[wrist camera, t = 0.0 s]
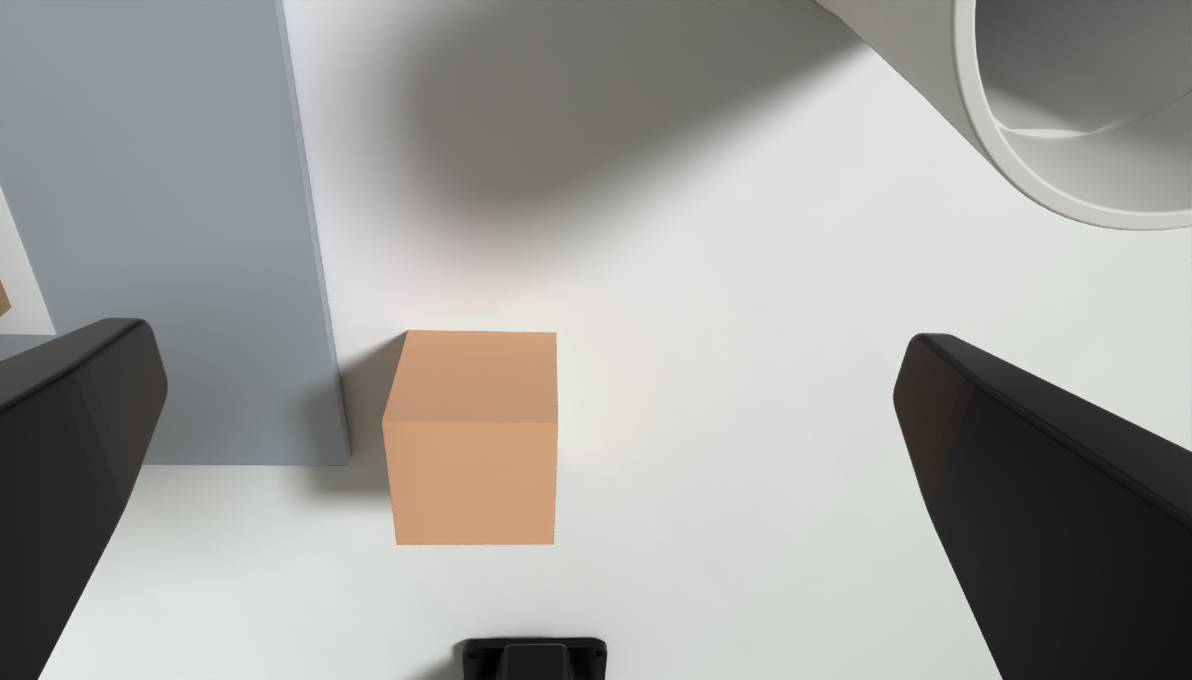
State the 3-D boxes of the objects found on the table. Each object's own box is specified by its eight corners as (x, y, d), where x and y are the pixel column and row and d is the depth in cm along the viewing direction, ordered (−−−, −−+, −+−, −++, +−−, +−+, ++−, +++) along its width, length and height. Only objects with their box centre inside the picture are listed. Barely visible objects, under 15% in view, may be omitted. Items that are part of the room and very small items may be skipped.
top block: (552, 443, 29) (553, 544, 25) (418, 442, 29) (396, 545, 25) (556, 331, 26) (557, 423, 22) (408, 328, 26) (381, 421, 22)
